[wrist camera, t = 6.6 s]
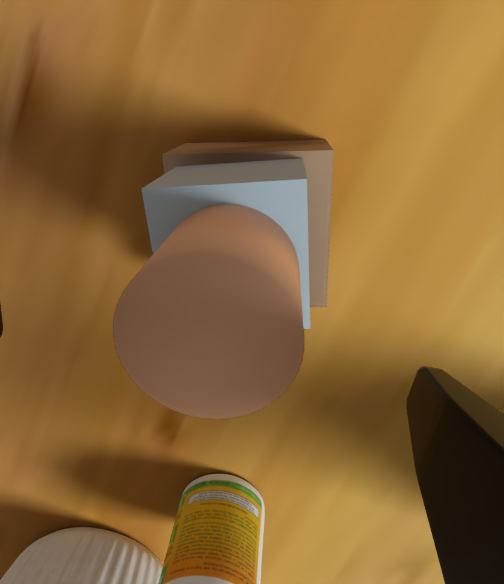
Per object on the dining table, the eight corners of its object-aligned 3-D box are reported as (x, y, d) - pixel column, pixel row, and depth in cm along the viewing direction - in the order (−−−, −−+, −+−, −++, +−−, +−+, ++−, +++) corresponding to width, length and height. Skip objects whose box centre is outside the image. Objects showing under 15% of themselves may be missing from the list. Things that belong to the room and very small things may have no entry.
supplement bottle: (173, 473, 27) (117, 655, 18) (257, 467, 26) (241, 656, 18) (192, 531, 29) (150, 719, 20) (271, 528, 29) (262, 722, 20)
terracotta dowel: (312, 217, 12) (324, 271, 8) (284, 342, 13) (283, 432, 10) (168, 191, 12) (115, 234, 8) (158, 319, 13) (110, 401, 10)
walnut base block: (325, 138, 18) (333, 150, 15) (320, 269, 21) (326, 307, 17) (186, 142, 19) (161, 154, 15) (197, 269, 21) (179, 305, 18)
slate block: (302, 158, 15) (306, 178, 11) (305, 278, 17) (310, 328, 13) (176, 166, 15) (141, 189, 12) (192, 282, 17) (166, 332, 14)
